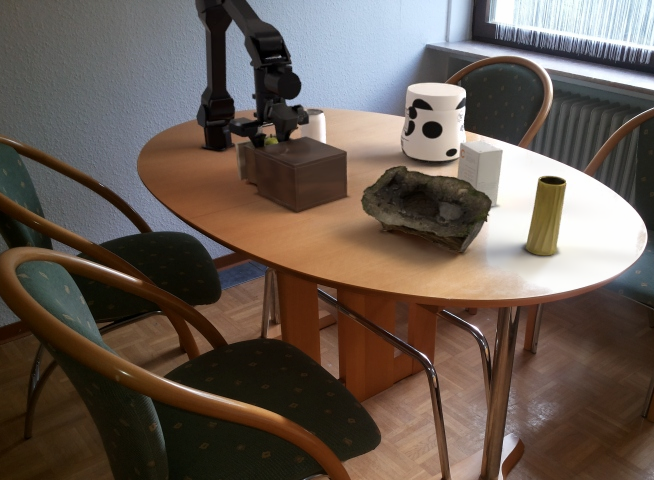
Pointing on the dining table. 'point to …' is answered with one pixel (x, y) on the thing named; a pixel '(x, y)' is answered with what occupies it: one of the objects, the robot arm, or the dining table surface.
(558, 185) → the vase
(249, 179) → the drawer
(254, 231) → the dining table surface
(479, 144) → the small box
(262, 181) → the cabinet
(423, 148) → the milk container
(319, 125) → the can
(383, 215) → the grey rough hollow block
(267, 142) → the pear
